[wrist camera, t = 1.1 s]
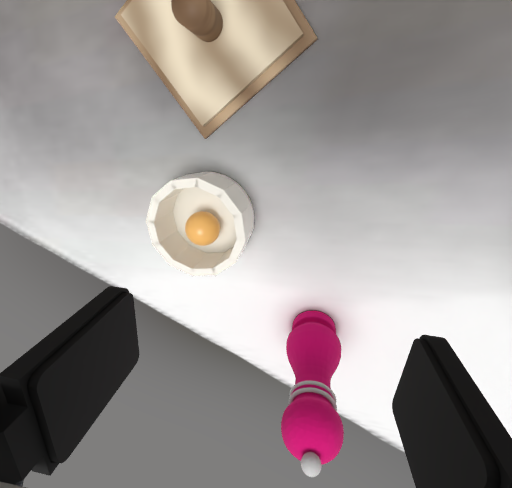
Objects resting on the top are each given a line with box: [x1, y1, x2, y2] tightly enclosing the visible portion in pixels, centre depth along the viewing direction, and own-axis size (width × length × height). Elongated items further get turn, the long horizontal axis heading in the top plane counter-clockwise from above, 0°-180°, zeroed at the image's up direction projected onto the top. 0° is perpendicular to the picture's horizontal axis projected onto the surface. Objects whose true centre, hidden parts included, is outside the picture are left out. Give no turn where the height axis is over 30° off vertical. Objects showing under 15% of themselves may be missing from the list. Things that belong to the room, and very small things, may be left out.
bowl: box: [146, 172, 255, 276], centre depth 37 cm, size 12×12×6 cm
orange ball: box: [185, 211, 220, 246], centre depth 37 cm, size 4×4×4 cm
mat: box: [115, 0, 317, 139], centre depth 31 cm, size 16×16×1 cm
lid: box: [121, 0, 303, 126], centre depth 28 cm, size 14×14×6 cm
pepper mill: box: [281, 310, 344, 477], centre depth 34 cm, size 7×7×20 cm
